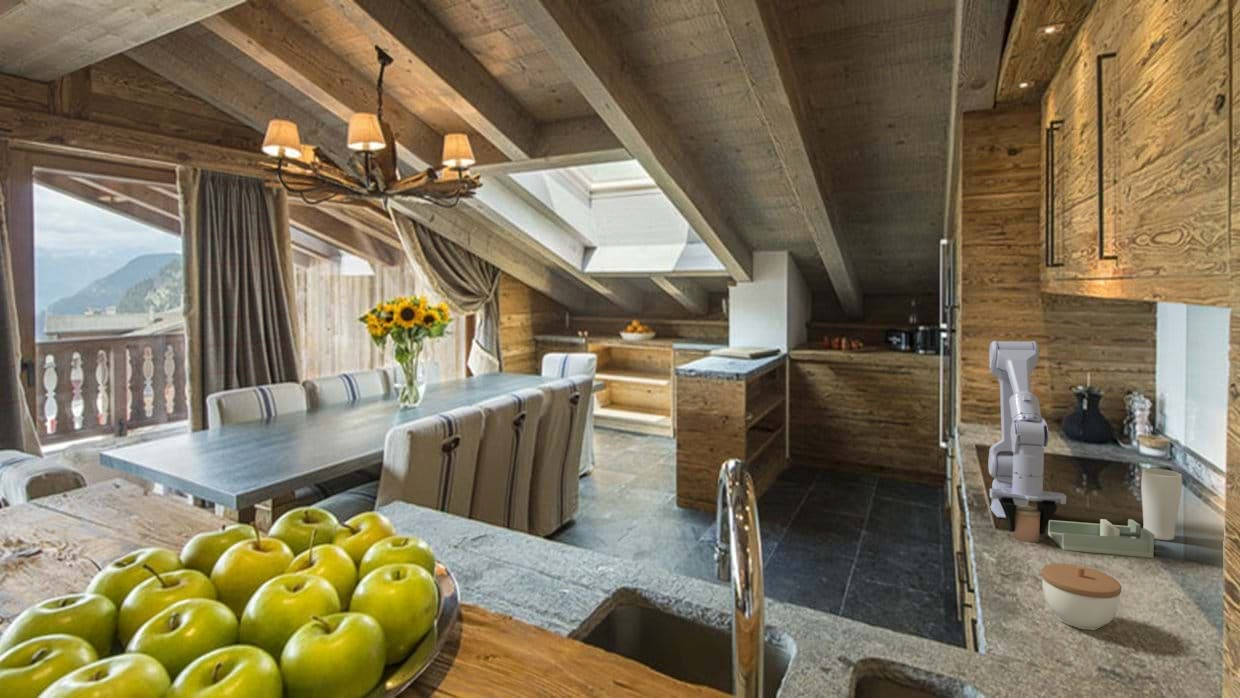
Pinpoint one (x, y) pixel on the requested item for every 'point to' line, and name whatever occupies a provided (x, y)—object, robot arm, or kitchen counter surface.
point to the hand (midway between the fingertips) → (1025, 531)
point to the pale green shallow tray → (1101, 538)
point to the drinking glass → (1160, 501)
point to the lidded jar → (1080, 595)
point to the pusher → (1114, 530)
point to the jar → (1027, 523)
